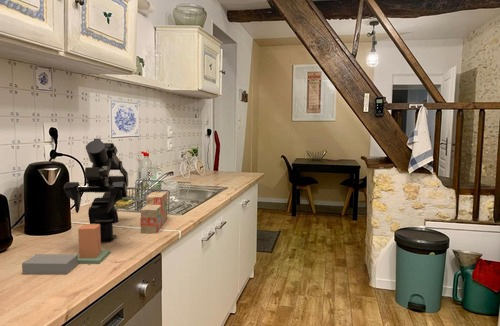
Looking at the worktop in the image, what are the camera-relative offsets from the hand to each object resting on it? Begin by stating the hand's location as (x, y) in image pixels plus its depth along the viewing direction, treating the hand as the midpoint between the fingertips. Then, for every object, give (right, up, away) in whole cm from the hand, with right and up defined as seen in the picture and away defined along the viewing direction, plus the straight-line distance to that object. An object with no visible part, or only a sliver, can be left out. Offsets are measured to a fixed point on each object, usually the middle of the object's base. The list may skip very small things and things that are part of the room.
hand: (92, 212), depth 113 cm
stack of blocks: (+11, -11, +34) cm, 37 cm away
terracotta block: (0, -13, -2) cm, 13 cm away
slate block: (-7, -15, -11) cm, 20 cm away
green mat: (0, -14, -2) cm, 14 cm away
